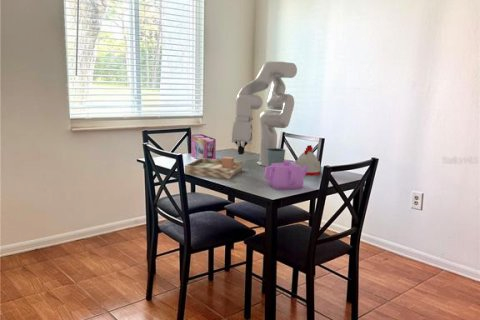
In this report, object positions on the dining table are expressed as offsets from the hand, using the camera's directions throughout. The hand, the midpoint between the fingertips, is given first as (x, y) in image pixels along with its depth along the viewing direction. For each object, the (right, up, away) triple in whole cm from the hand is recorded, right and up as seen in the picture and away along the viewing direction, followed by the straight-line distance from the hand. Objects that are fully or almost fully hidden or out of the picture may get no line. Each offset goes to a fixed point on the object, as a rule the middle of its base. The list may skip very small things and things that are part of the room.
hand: (240, 154), depth 223 cm
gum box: (-23, -2, +38) cm, 45 cm away
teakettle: (+21, -16, -22) cm, 34 cm away
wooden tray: (-14, -9, +2) cm, 17 cm away
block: (-7, -7, +4) cm, 11 cm away
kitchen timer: (+36, -10, +9) cm, 38 cm away
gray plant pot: (+19, -9, +10) cm, 23 cm away
